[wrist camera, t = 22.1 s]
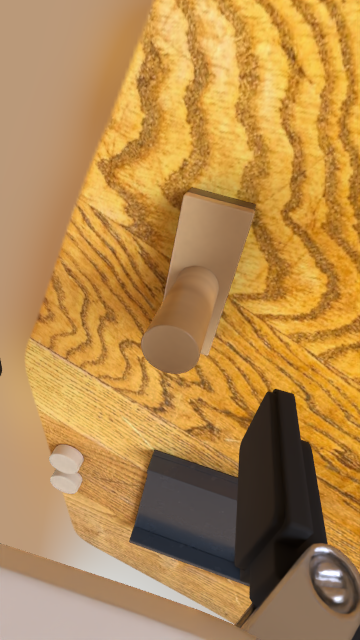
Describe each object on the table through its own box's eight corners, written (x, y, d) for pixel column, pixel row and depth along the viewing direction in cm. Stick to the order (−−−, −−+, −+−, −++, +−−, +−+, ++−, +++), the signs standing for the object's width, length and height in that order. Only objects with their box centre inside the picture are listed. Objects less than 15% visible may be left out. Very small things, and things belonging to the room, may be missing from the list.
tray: (135, 522, 38) (128, 542, 36) (154, 449, 30) (147, 469, 28) (250, 564, 37) (249, 586, 35) (303, 500, 28) (306, 524, 27)
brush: (163, 323, 22) (118, 410, 15) (191, 187, 17) (142, 229, 10) (212, 338, 22) (188, 434, 15) (256, 204, 17) (248, 259, 10)
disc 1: (55, 458, 35) (49, 468, 34) (54, 440, 33) (48, 450, 32) (83, 467, 34) (78, 478, 33) (84, 450, 32) (78, 460, 31)
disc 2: (56, 478, 37) (51, 488, 36) (55, 462, 35) (48, 472, 34) (82, 487, 36) (77, 497, 35) (82, 471, 35) (76, 481, 34)
